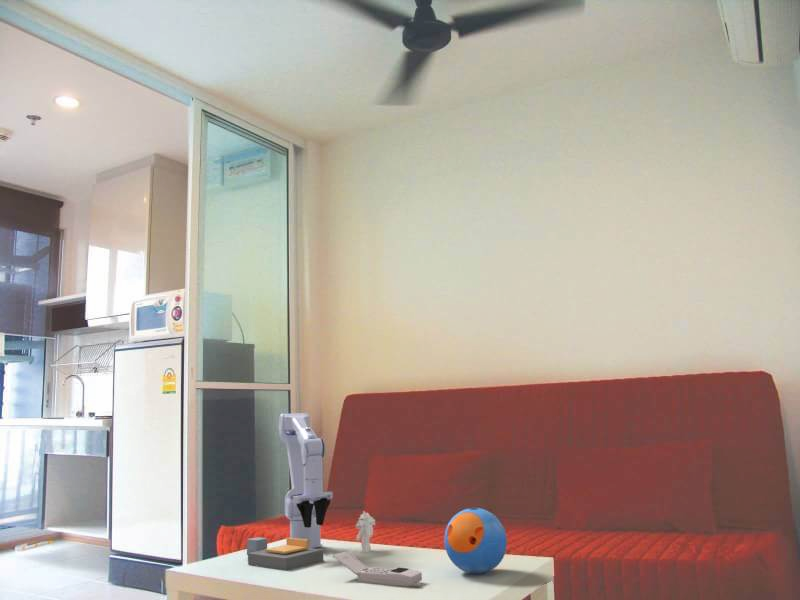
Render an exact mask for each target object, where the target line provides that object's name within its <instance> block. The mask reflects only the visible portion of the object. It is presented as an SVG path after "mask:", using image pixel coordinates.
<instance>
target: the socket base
mask: <svg viewBox="0 0 800 600" xmlns="http://www.w3.org/2000/svg"><path fill="white" fill-rule="evenodd" d="M320 562H324V549H321V548H309V549H305V550H300V551H296V552H292V553H287V554H281V553H273V552H265V550H261V551H256V552H252V553H248V555H247V565H248V564H249V565H250V566H255V565H258V566H257V567H261V566H264V567H263V568H268V567H270V568H269V569H275V570H284V571H288V570H293V569H296V567H297V568H300V567H305V566H308V565H312V564H315V563H320Z"/></svg>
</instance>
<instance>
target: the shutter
mask: <svg viewBox="0 0 800 600" xmlns="http://www.w3.org/2000/svg"><path fill="white" fill-rule="evenodd" d="M285 542H286V544H284V545H283V544H282V545H277V546H275V547H269V548H268V547H267V549H265V552H273V553H281V554H287V553H292V552H296V551H300V550H305V549H309V540H307V539H297V538H290V537H286V541H285Z"/></svg>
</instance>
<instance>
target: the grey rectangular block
mask: <svg viewBox="0 0 800 600" xmlns="http://www.w3.org/2000/svg"><path fill="white" fill-rule="evenodd" d="M265 549H268V538H266V537H252V538H248V539H246V556H248V553H252V552H256V551H261V550H265Z"/></svg>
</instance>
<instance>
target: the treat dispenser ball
mask: <svg viewBox="0 0 800 600" xmlns="http://www.w3.org/2000/svg"><path fill="white" fill-rule="evenodd" d="M443 542H444V547H445V551H446V554H447V556H448V558H449V560H450V561H451V563H452V564H453V565H454V566H455V567H457V568H458V570H461V571H463V572H464V573H468V574H471V575H483V574H486V573H490V572H491V571H492V570H494V569H495V568H497V567H498V566H499V564H500V563H501V562H502V561H503V559H504V557H505V555H506V550H507V543H508V539H507V534H506V530H505V527H504V526H503V524H502V523H501V521H500V520H499V518H498V517H497V516H496V515H495V514H493V513H491V512H490V511H488V510H486V509H483V508H481V507H479V508H478V507H471V508H466V509H463V510H461V511H459V512H457V513H456V514H454V515H453V516H452V517H451V519H450V520H449V522H448V524H447V525H446V528H445V532H444V541H443Z"/></svg>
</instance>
